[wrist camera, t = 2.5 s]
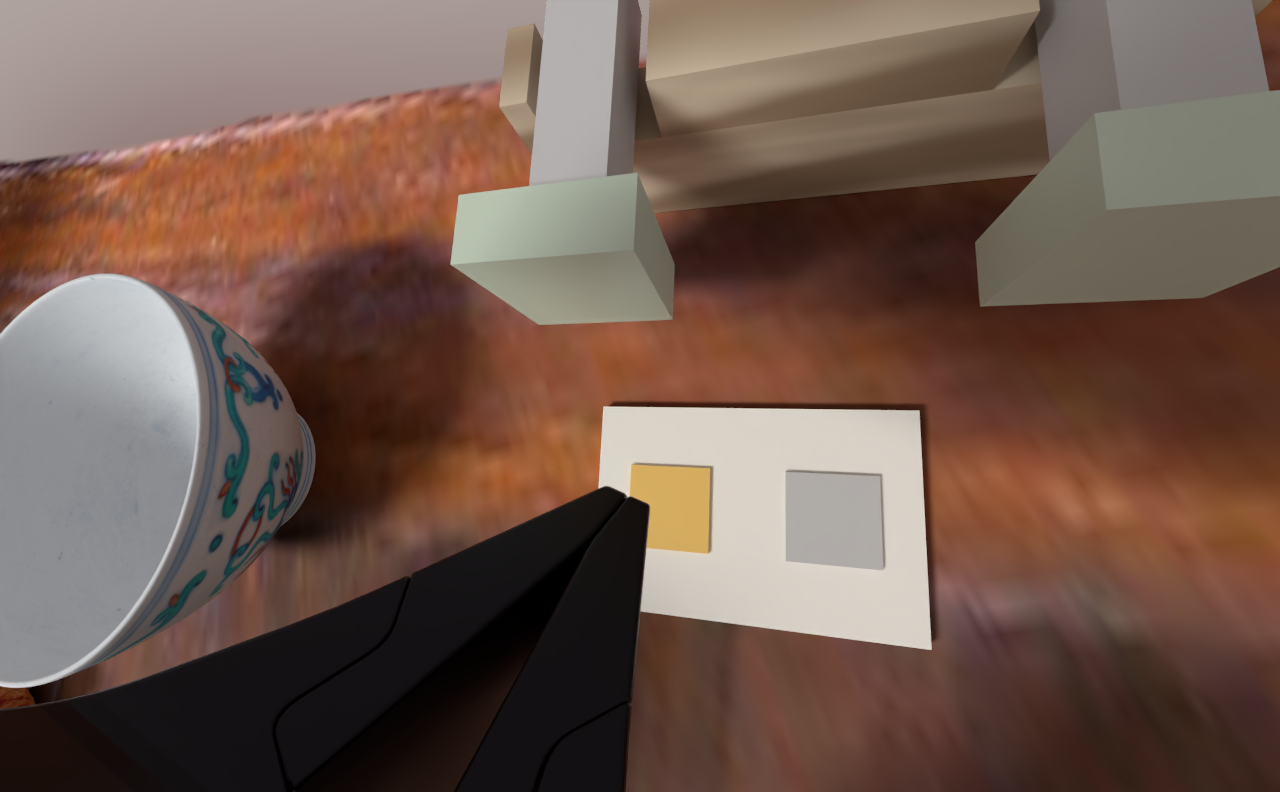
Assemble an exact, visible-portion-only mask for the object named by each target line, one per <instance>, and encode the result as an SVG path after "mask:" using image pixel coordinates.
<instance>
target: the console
mask: <svg viewBox="0 0 1280 792" xmlns="http://www.w3.org/2000/svg"><path fill="white" fill-rule="evenodd" d="M1272 1H1273V0H1252V5H1253V10H1254V16H1256V15H1257V14H1259V13H1260V12H1261V11H1262V10H1263V9H1264V8H1265V7H1266V6H1267V5H1268V4H1269V3H1270V2H1272ZM1039 12H1040V5H1039V0H650V7H649V26H648V45H647V64H646V67H644V68H639V70H638V88H637V106H636V123H635V141H634V159H633V173H638V174H639V177H640V179H641V182H642V184H643V187H644V189H645V192H646V194H647V197H648V199H649V202H650V204H651V207H652V209H653V212H654V213H659V212H669V211H679V210H689V209H699V208H709V207H719V206H729V205H739V204H749V203H759V202H769V201H779V200H789V199H799V198H809V197H819V196H829V195H839V194H849V193H858V192H868V191H878V190H888V189H898V188H908V187H918V186H928V185H938V184H948V183H958V182H968V181H978V180H988V179H998V178H1008V177H1018V176H1028V175H1038V174H1039V173H1040V172H1041V170H1042V169H1043V168H1044V167H1045V166H1046V165H1047V164H1048V163H1049V162H1050V159H1049V149H1048V140H1047V131H1046V121H1045V112H1044V102H1043V93H1042V83H1041V74H1040V65H1039V55H1038V46H1037V36H1036V27H1035V18H1036V17H1037V15H1038V13H1039ZM542 45H543V40H542V38H541V36H540V34H539V32H538V30H537V28H536V26H535V24H530V25H525V26H521V27H517V28H512V29H508V31H507V40H506V50H505V58H504V67H503V76H502V85H501V94H500V104H499V108H500V109H501V110H502V112H503V113H504V115H505V116H506V118H507V119H508V120H509V122H510V123H511V125H512V126H513V127H514V129H515V130H516V132H517V133H518V134H519V136H520V137H521V139H522V140H523V142H524V143H525V144H526V146H527V147H528V149H529V150H530V151H531V153H532V150H533V139H534V129H535V118H536V108H537V98H538V87H539V77H540V66H541V56H542Z"/></svg>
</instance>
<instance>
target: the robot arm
mask: <svg viewBox="0 0 1280 792" xmlns="http://www.w3.org/2000/svg"><path fill="white" fill-rule="evenodd" d="M649 516H650V505H649V504H648V503H646V502H643V501H641V500H639V499H637V498H634V497H632V496H630V497H627V495H626V494H625V493H623V492H621V491H619V490H617V489H614V488H612V487H610V486H604V487H601V488H599V489H597V490H595V491H593V492H590V493H588V494H586V495H584V496H582V497H579V498H577V499H575V500H573V501H571V502H568V503H566V504H564V505H562V506H560V507H557V508H555V509H553V510H551V511H549V512H546V513H544V514H542V515H540V516H538V517H535V518H533V519H531V520H529V521H527V522H524V523H522V524H520V525H518V526H516V527H513V528H511V529H509V530H507V531H505V532H502V533H500V534H498V535H496V536H494V537H491V538H489V539H487V540H485V541H483V542H481V543H478V544H476V545H474V546H472V547H470V548H467V549H465V550H463V551H461V552H459V553H456V554H454V555H452V556H450V557H448V558H445V559H443V560H441V561H439V562H437V563H434V564H432V565H430V566H428V567H426V568H423V569H421V570H419V571H417V572H415V573H413V574H412V575H411V578H410V577H408V576H405V577H403V578H401V579H399V580H396V581H394V582H392V583H390V584H388V585H385V586H383V587H381V588H379V589H377V590H374V591H372V592H370V593H367V594H365V595H363V596H360V597H358V598H356V599H353V600H351V601H349V602H346V603H344V604H342V605H339V606H337V607H335V608H332V609H329V610H327V611H324V612H322V613H319V614H316V615H314V616H311V617H309V618H306V619H303V620H301V621H298V622H296V623H293V624H290V625H288V626H285V627H282V628H280V629H277V630H274V631H271V632H269V633H266V634H263V635H260V636H258V637H255V638H252V639H249V640H247V641H244V642H241V643H238V644H236V645H233V646H230V647H227V648H225V649H222V650H219V651H216V652H214V653H211V654H208V655H205V656H203V657H200V658H197V659H194V660H192V661H189V662H186V663H183V664H181V665H178V666H175V667H172V668H170V669H167V670H164V671H161V672H159V673H156V674H153V675H150V676H147V677H144V678H141V679H138V680H135V681H133V682H130V683H127V684H124V685H120V686H117V687H113V688H110V689H106V690H103V691H99V692H96V693H91V694H87V695H83V696H78V697H74V698H70V699H65V700H60V701H54V702H49V703H43V704H37V705H29V706H21V707H12V708H3V709H0V792H625V790H626V774H627V759H628V743H629V732H630V721H631V711H632V706H631V701H632V697H633V686H634V676H635V665H636V654H637V644H638V633H639V623H640V612H641V601H642V591H643V580H644V569H645V559H646V548H647V538H648V527H649Z"/></svg>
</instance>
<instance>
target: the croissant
mask: <svg viewBox="0 0 1280 792" xmlns="http://www.w3.org/2000/svg"><path fill="white" fill-rule="evenodd" d="M29 689H30V687H24V688H10V687H2V686H0V709H3V708H12V707H21V706H29V705H36V704H35V702H34V698H33V697H32V695H31V694H30V692H29Z"/></svg>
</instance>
